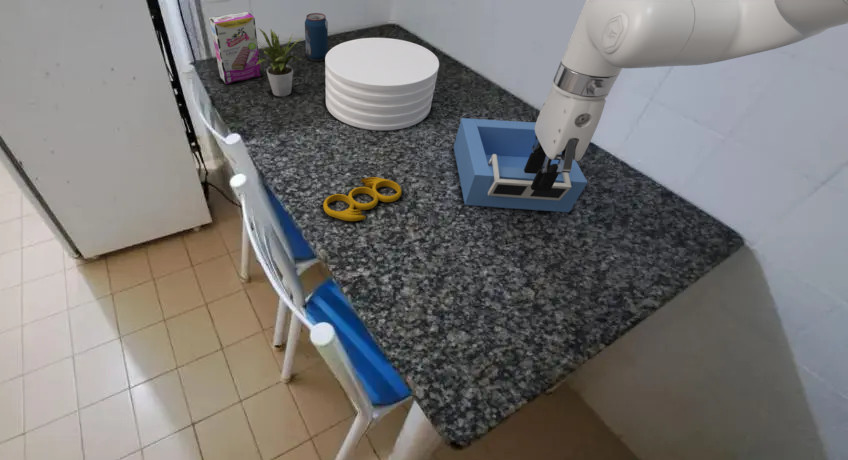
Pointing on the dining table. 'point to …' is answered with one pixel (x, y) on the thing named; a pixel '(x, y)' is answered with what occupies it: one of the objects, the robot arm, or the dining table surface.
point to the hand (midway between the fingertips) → (536, 180)
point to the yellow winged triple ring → (357, 214)
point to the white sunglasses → (524, 186)
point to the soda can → (316, 36)
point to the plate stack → (380, 83)
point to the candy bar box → (235, 46)
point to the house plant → (278, 65)
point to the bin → (504, 164)
